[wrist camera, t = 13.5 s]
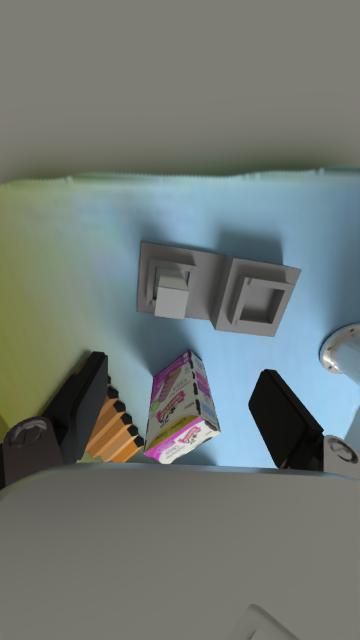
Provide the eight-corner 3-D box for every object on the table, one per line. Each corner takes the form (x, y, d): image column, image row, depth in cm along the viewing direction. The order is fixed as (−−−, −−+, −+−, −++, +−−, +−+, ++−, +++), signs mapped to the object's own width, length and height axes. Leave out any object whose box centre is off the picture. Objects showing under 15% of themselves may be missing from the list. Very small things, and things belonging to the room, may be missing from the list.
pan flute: (90, 353, 39) (38, 420, 46) (83, 363, 36) (28, 433, 43) (180, 405, 46) (124, 456, 53) (181, 417, 43) (121, 469, 50)
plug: (183, 277, 32) (189, 291, 24) (180, 299, 34) (183, 319, 25) (160, 274, 32) (158, 286, 23) (157, 296, 33) (154, 315, 25)
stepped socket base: (283, 265, 33) (310, 271, 27) (261, 325, 38) (280, 342, 31) (142, 241, 30) (135, 242, 24) (137, 309, 35) (130, 326, 29)
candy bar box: (188, 347, 39) (200, 415, 24) (203, 361, 41) (223, 433, 26) (151, 377, 42) (141, 455, 27) (166, 389, 43) (166, 469, 28)
